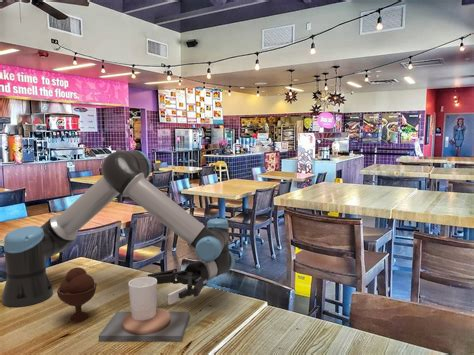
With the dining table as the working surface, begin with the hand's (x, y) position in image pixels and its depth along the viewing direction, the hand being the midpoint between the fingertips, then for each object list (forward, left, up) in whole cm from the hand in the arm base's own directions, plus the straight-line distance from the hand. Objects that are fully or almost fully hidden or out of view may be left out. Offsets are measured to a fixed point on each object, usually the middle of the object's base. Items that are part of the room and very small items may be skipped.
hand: (151, 293), depth 105 cm
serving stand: (0, -2, -9) cm, 10 cm away
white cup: (-2, -1, -7) cm, 7 cm away
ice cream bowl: (-22, -9, -10) cm, 26 cm away
